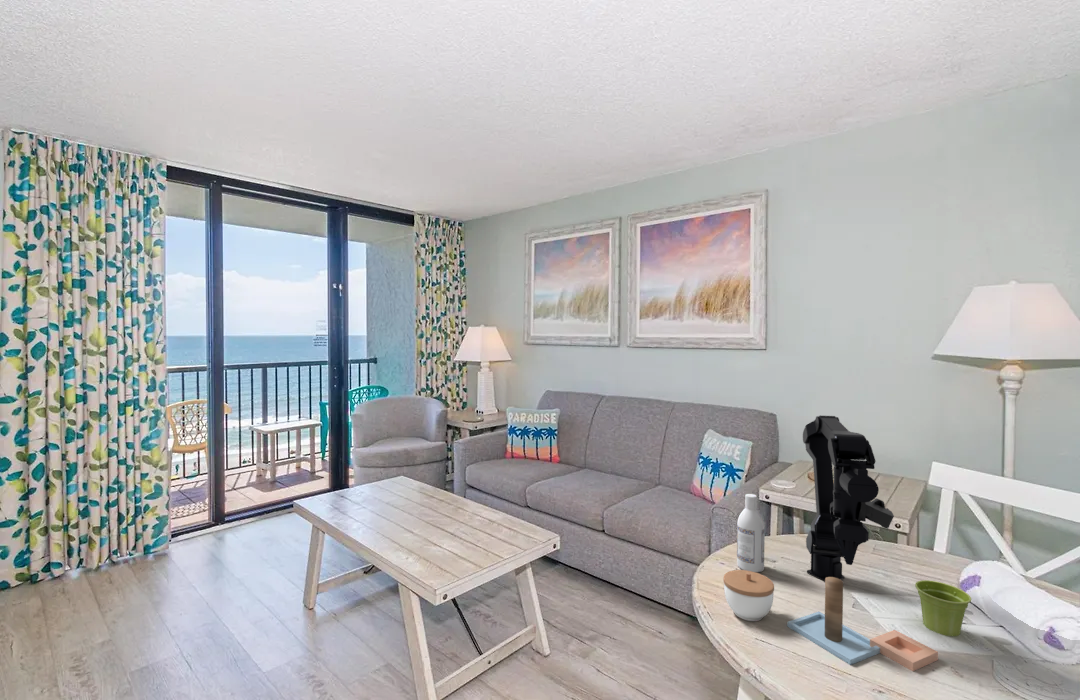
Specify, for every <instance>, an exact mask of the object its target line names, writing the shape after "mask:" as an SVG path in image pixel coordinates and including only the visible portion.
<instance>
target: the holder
mask: <svg viewBox="0 0 1080 700" xmlns="http://www.w3.org/2000/svg"><path fill="white" fill-rule="evenodd" d="M869 639H870V646H871V647H874V646H878V647H879V648H880V653H879V654H881V655H883V656H885V657H886V658H888V659H890V660H892V661H894V662H895V663H897V664H899V665H900V666H902V667H904V668H906V669H908V670H909V671H912V672H915V671H917V670H919V669H922V668H924V667H926V666H928V665H930V664H932V663H935V662H937V661H938V660H939V651H937V650H936V649H933V648H932V647H930V646H927V645H926V644H923V643H922V642H919V641H917V640H916V639H913V638H912V637H910V636H907V635H905V634H904V633H902V632H899V631H898V630H896V629H893V630H891V631H887V632H885V633H882V634H879V635H878V636H875V637H872V638H869Z"/></svg>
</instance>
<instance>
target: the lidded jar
mask: <svg viewBox="0 0 1080 700" xmlns="http://www.w3.org/2000/svg"><path fill="white" fill-rule="evenodd" d="M723 590H724V597H725V600H726V603H727V604H728V607H729V608H730V610H732V612H733V613H734V614H735V616H736V617H737V618H740V619H742V620H744V621H749V622H758V621H759V622H760V621H761V620H762V619H763V618H764V617H765V616H767V614H769V612H770V611H771V609H772V606H773V603H774V594H775V592H774V591H775V584H774V582H773V580H771V579H770V578H769V577H767V576H766V575H764V574H761V573H760V572H752V571H747V570H742V569H736V570H735V569H734V570H730V571H727V572H726V573H725V574H724V575H723Z"/></svg>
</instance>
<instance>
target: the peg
mask: <svg viewBox="0 0 1080 700" xmlns="http://www.w3.org/2000/svg"><path fill="white" fill-rule="evenodd" d="M824 583H825V584H824V587H825V588H824V614H825V637H826V638H827V639H828V640H831V641H834V642H841V641H842V627H843V625H844V624H843V622H844V621H843V619H844V617H843V614H844V611H843V610H844V609H843V608H844V581H843V579H838V578H835V577H826V578H825V581H824Z"/></svg>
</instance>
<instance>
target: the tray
mask: <svg viewBox="0 0 1080 700" xmlns="http://www.w3.org/2000/svg"><path fill="white" fill-rule="evenodd" d="M786 623H787V624H786V626H787V628H789V629H790V630H792V631H793V632H795V633H797V634H799V635H800V636H802V637H804V638H805V639H807V640H808V641H810V642H812V643H813V644H814V645H817V646H818V647H820V648H821V649H823V650H825V651H826V652H828V653H830V654H831V655H833V656H834V657H836V658H838V659H840V660H841V661H843V662H845V664H847V665H849V666H851V665H855V664H857V663H860V662H862V661H865V660H867V659H868V658H872V657H873V656H876V655H879V654H881V653H880V648H879V647H878V646H874V647H871V646H870V639H871V638H868V637H867V636H865V635H863V634H861V633H860V632H857V631H855V630H854V629H852V628H850V627H849V626H846V625H845V624H843V627H842V641H841V642H834V641H831V640H828V639H827V638H826V637H825V613H823V612H821V611H816V612H813V613H810V614H808V615H804V616H801V617H798V618H795V619H792V620H789V621H787V622H786Z"/></svg>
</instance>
